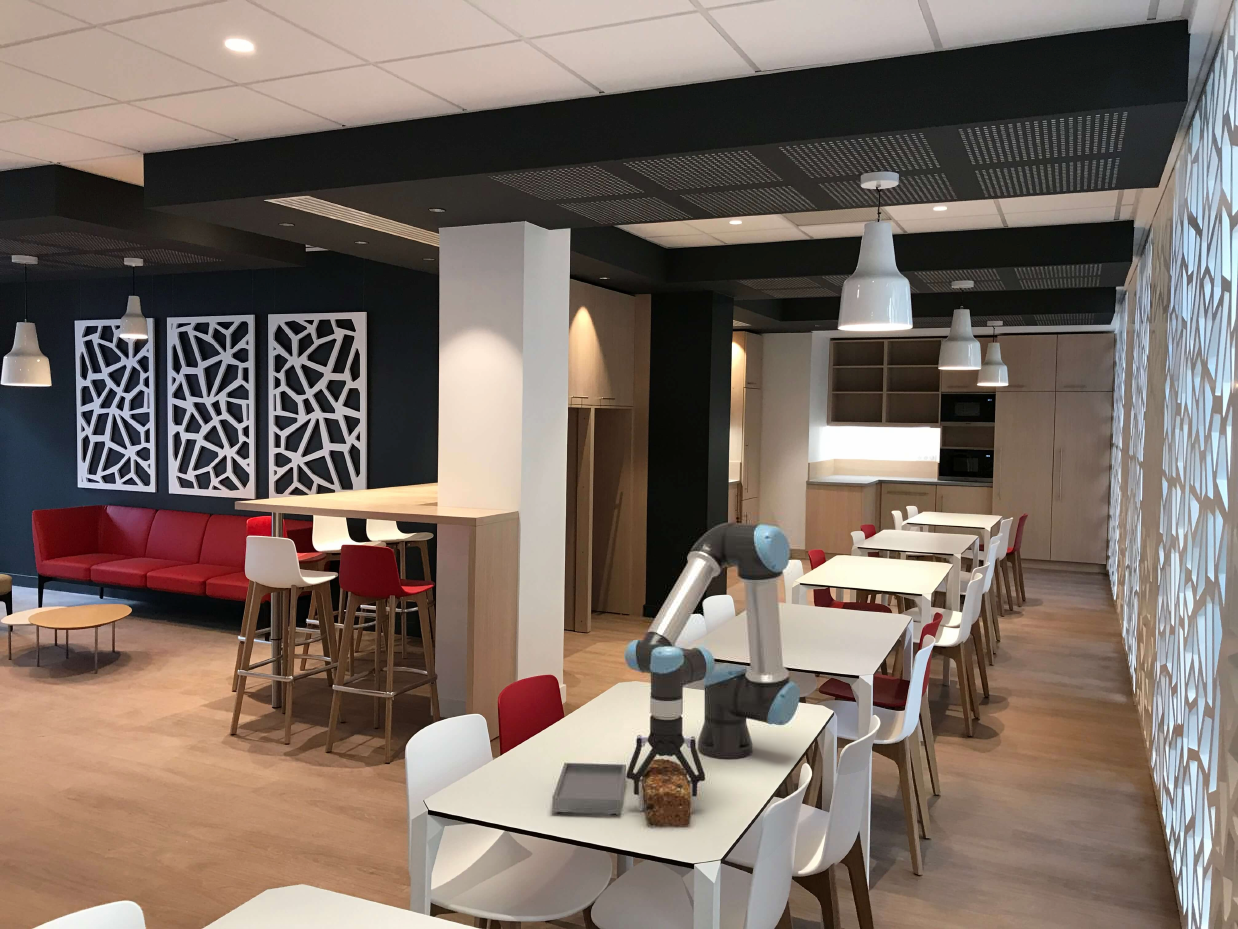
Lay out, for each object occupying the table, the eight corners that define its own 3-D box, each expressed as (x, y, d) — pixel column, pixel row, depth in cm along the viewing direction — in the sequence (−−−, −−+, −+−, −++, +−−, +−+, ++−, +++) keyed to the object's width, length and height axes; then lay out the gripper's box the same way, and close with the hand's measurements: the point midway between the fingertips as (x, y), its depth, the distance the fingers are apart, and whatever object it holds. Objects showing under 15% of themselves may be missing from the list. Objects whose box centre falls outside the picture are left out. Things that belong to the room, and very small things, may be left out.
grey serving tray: (625, 781, 242) (626, 764, 242) (620, 818, 219) (620, 799, 218) (564, 779, 243) (564, 762, 243) (552, 815, 219) (552, 797, 219)
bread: (641, 796, 232) (641, 755, 232) (685, 797, 232) (685, 756, 232) (644, 828, 213) (644, 783, 213) (692, 828, 213) (692, 784, 213)
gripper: (716, 711, 225) (715, 804, 226) (617, 709, 227) (616, 801, 227) (717, 721, 218) (716, 817, 218) (615, 718, 219) (614, 813, 220)
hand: (665, 809), depth 223 cm, fingers closed on bread, 11 cm apart
